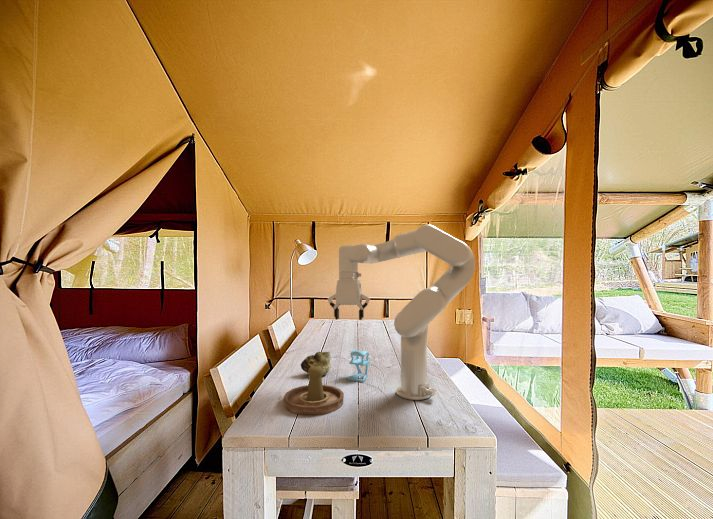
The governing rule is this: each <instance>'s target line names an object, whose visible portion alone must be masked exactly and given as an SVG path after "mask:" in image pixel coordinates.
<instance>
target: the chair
mask: <svg viewBox="0 0 713 519" xmlns="http://www.w3.org/2000/svg"><path fill="white" fill-rule="evenodd" d="M349 355H350V358H351V360H350V361H349V365H354V366H355V367H356V369H357V371H358V373H356V374H353V375H349V376H347V378H346V379H347V381H354V382H357V383H358V382H360V383H365V382H366V379H367V378H368V371H369V366H370V363H371V360H370V359H369V355H370V352H369V351H367V350H364V351H361V350H358V349H353V350H351V351H350V354H349ZM354 356H355V357H356V358H355V359H354ZM365 356H366V358H365ZM359 357H361V358H359ZM364 358H365V359H364ZM361 366H362V367H364V366H365V372H364V375H363V372H362V370H361V368H360V367H361ZM362 375H363V377H362ZM358 377H362V378H363V379H362V378H358Z"/></svg>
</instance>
